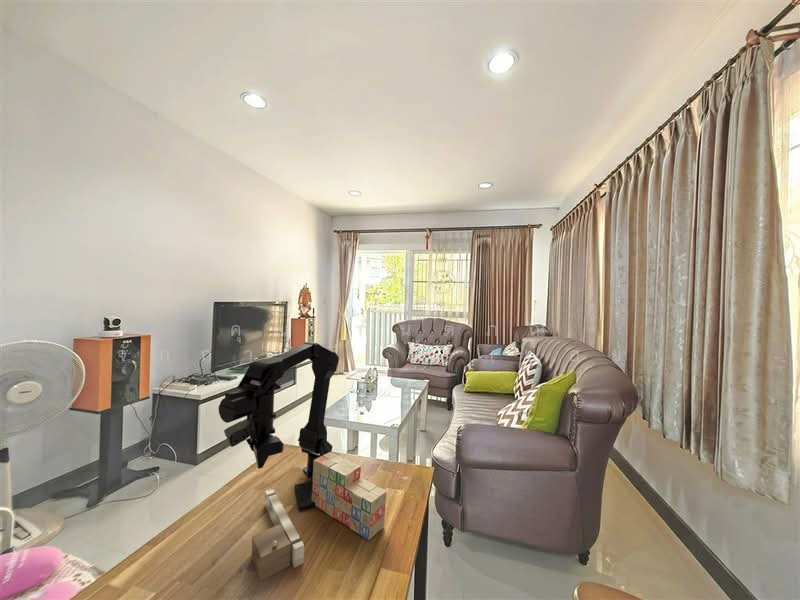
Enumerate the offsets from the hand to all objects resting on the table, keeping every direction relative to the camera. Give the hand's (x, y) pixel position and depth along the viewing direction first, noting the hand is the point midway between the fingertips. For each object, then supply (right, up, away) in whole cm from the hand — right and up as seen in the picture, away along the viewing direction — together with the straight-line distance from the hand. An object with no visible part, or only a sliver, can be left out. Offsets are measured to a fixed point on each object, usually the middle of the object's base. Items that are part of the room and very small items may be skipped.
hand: (260, 467), depth 83 cm
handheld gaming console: (+12, -12, +8) cm, 19 cm away
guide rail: (+8, -12, -6) cm, 16 cm away
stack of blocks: (+23, -13, 0) cm, 26 cm away
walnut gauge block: (+9, -13, -15) cm, 21 cm away
